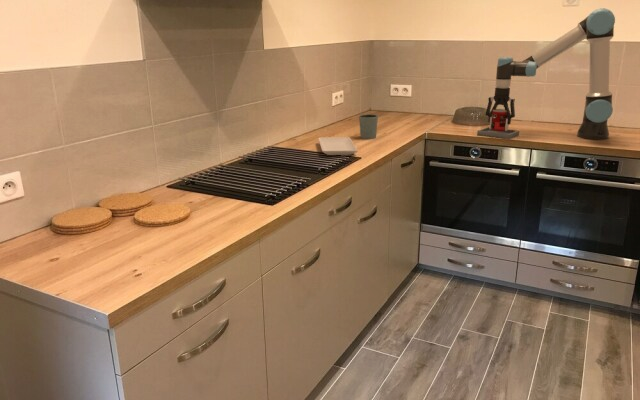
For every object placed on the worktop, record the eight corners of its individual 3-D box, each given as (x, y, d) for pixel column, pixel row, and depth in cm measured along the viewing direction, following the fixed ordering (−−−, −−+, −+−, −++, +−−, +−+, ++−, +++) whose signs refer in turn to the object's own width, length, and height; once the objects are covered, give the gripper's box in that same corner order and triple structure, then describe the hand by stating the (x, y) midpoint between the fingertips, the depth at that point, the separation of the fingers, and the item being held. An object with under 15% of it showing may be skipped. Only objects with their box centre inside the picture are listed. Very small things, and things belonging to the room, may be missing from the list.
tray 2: (518, 135, 288) (519, 130, 287) (509, 139, 277) (510, 134, 277) (487, 131, 298) (487, 126, 298) (477, 135, 288) (477, 130, 287)
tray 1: (349, 142, 275) (349, 136, 274) (358, 157, 246) (358, 150, 245) (317, 143, 274) (317, 137, 273) (322, 158, 245) (322, 150, 244)
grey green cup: (378, 136, 289) (379, 114, 285) (375, 140, 280) (376, 117, 276) (360, 135, 292) (361, 113, 288) (357, 139, 282) (357, 116, 279)
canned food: (492, 128, 292) (494, 108, 288) (507, 129, 288) (509, 109, 285) (489, 130, 286) (491, 110, 282) (505, 131, 282) (507, 111, 278)
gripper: (524, 87, 276) (520, 130, 283) (486, 85, 289) (483, 126, 296) (519, 89, 271) (515, 132, 278) (481, 86, 283) (477, 128, 290)
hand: (498, 129), depth 287 cm, fingers closed on canned food, 8 cm apart
